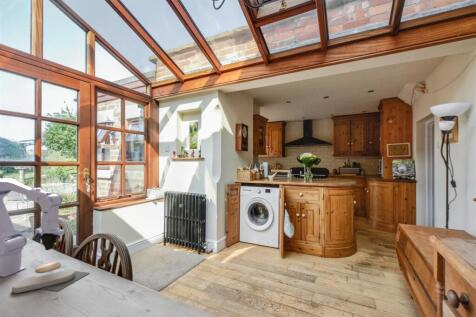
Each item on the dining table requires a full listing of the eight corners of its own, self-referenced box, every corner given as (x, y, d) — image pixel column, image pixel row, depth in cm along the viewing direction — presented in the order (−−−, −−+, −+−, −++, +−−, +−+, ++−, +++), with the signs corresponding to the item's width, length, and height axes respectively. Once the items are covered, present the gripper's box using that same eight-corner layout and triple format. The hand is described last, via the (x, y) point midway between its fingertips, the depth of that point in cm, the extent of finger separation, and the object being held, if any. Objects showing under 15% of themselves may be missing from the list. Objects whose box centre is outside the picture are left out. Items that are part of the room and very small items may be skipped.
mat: (33, 287, 83) (33, 287, 83) (68, 270, 97) (68, 269, 97) (57, 291, 81) (57, 290, 81) (89, 273, 95) (89, 272, 95)
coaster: (30, 271, 96) (30, 270, 96) (51, 262, 105) (51, 261, 105) (45, 273, 94) (45, 272, 94) (65, 264, 103) (65, 263, 103)
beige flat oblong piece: (15, 285, 84) (8, 296, 77) (16, 279, 84) (8, 290, 77) (75, 272, 95) (73, 280, 88) (76, 267, 95) (73, 275, 88)
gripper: (28, 221, 94) (26, 251, 93) (53, 223, 91) (52, 254, 91) (45, 217, 101) (44, 245, 100) (69, 219, 98) (68, 248, 97)
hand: (48, 249), depth 96 cm, fingers closed
